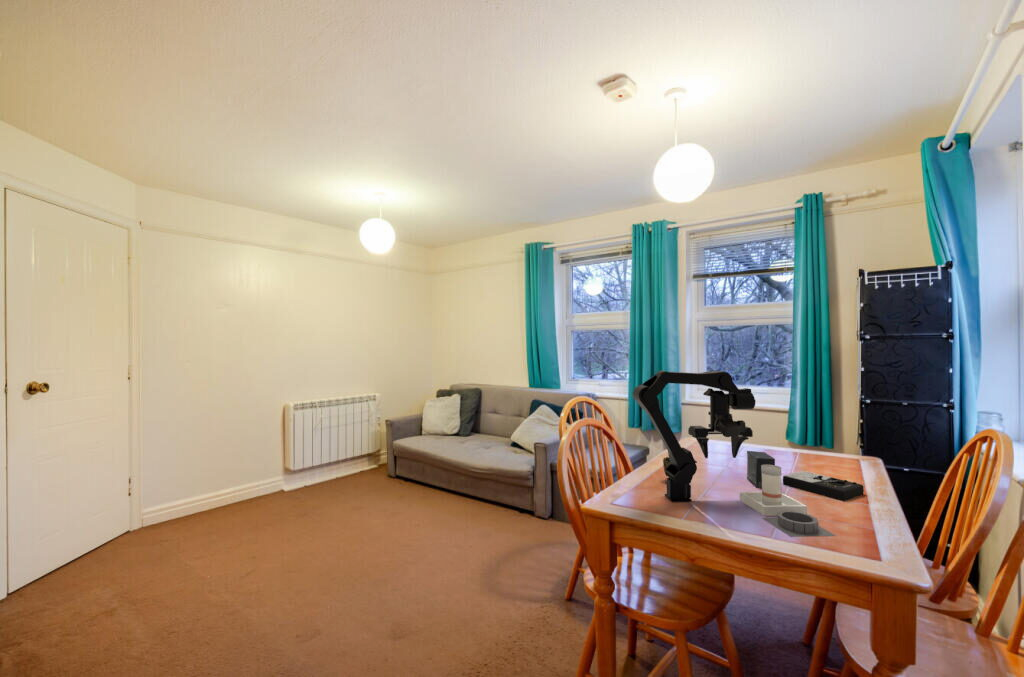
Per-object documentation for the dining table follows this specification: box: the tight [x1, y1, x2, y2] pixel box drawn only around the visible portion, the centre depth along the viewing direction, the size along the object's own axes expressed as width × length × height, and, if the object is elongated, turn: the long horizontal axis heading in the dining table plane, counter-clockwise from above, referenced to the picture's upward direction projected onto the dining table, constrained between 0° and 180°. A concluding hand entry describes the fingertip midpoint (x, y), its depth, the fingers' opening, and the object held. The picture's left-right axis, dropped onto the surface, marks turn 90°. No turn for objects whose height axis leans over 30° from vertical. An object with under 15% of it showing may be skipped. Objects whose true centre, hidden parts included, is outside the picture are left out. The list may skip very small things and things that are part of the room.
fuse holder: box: [761, 511, 837, 538], centre depth 118 cm, size 12×12×4 cm
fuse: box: [761, 464, 782, 506], centre depth 133 cm, size 5×5×12 cm
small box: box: [746, 450, 776, 489], centre depth 158 cm, size 11×6×10 cm, turn 168°
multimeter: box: [782, 470, 865, 502], centre depth 151 cm, size 13×19×5 cm
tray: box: [739, 491, 808, 517], centre depth 132 cm, size 13×13×4 cm
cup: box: [662, 456, 670, 470], centre depth 161 cm, size 8×7×8 cm
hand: (720, 457), depth 143 cm, fingers open, 9 cm apart
